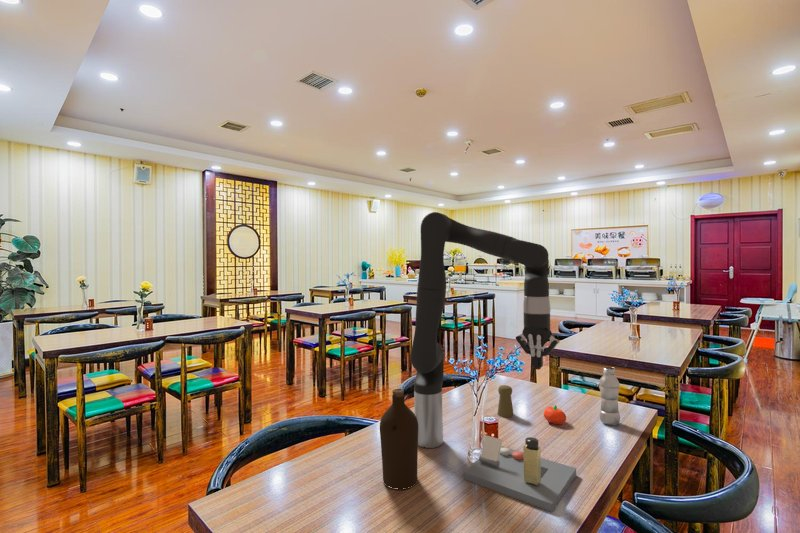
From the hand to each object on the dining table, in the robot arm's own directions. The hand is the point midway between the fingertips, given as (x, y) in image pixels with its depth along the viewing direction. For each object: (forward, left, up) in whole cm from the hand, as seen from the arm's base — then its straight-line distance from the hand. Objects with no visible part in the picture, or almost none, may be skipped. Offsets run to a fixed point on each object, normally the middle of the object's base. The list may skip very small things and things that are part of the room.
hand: (537, 368), depth 121 cm
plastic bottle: (+27, +30, -27) cm, 49 cm away
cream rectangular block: (-15, -11, -25) cm, 31 cm away
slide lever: (-3, -18, -25) cm, 31 cm away
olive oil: (-38, -20, -27) cm, 51 cm away
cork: (-9, +32, -27) cm, 43 cm away
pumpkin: (+8, +28, -27) cm, 40 cm away
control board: (-6, -12, -27) cm, 30 cm away
